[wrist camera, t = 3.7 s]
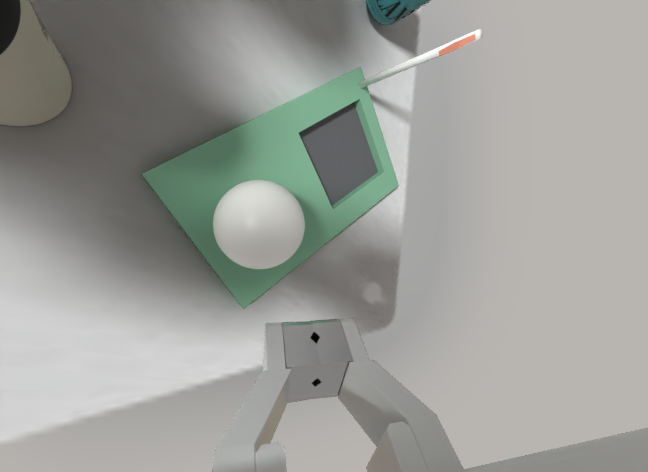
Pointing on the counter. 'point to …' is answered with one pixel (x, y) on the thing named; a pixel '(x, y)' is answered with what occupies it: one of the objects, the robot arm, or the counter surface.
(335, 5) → the counter surface
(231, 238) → the ball
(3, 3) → the travel mug
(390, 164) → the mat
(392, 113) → the counter surface
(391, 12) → the beverage bottle
